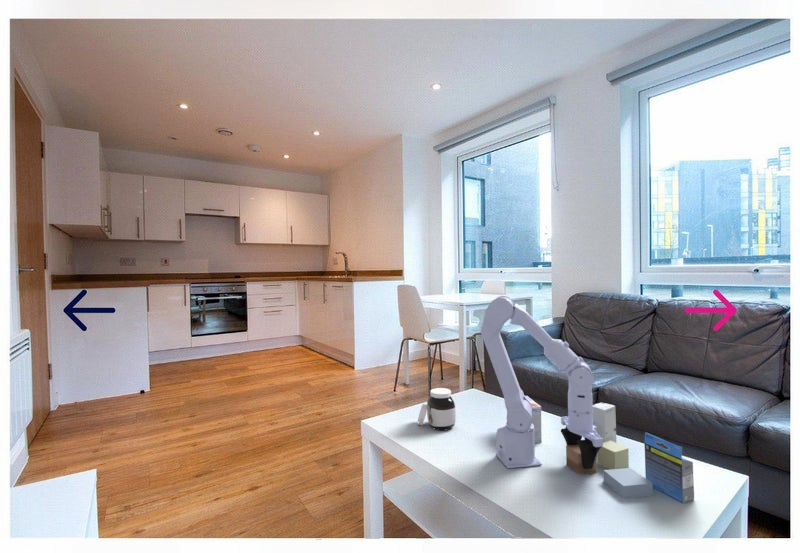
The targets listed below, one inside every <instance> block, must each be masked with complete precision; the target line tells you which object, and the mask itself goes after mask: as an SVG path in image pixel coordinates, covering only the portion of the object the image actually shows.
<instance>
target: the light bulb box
mask: <svg viewBox="0 0 800 553" xmlns="http://www.w3.org/2000/svg"><path fill="white" fill-rule="evenodd" d="M524 396H525V397H526V399H527V400H528V401H529V402H530V403H531V405H532V408H533V411H532V424H533V425H534V441H535V444H540V443H542V439H543V438H542V406H541V405H540V404H538V403H537V402H535V401H534V400H533V399H532V398H530V397H529V396H528V395H524Z"/></svg>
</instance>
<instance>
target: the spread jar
mask: <svg viewBox="0 0 800 553" xmlns="http://www.w3.org/2000/svg"><path fill="white" fill-rule="evenodd" d="M426 402H427V403H422V405H421V407H420V411H419V414H418V418H417V423H418V422H419V423H418V424H417V425H418V426H421V425H422V426H423V425H424V422H425V418H426V415H427V422H428V424H429V426H430V427H431V428H432V427H433V428H435V429H434V430H436V429H439V430H438V431H446V430H445V429H447V430H450V429H452V428H453V427H454V426H455V424H456V422H457V421H456V420H457V417H456V416H457V415H456V412H457V411H456V404H455V401H454V399H453V397H452V391H451V389H450V388H447V387H445V388H444V387H436V388H432V389H430V396H429V397H428V399H427V401H426ZM433 428H432V429H433Z"/></svg>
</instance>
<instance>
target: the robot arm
mask: <svg viewBox="0 0 800 553" xmlns="http://www.w3.org/2000/svg"><path fill="white" fill-rule="evenodd" d="M484 311H485V312H484V317H483V321H482V326H481V329H480V334H481V337H482V339H483V343H484V345H485V348H486V350H487V353H488V356H489V360H490V362H491V364H492V367H493V370H494V374H495V375H496V378H497V381H498V384H499V386H500V389H501V391H502V395H503V400H504V401H503V402H504V405H505V409H506V423H505V424H506V425H505V426H503V427H499V428H497V430H496V453H495V455H496V456H497V458H498V459H499V460H500V461H501V463H502V464H503V465H504V466H505V467H506V468H507V469H514V468H515V469H516V468H526V467H534V466H535V467H536V466H541V465H542V462H541V461H540V459H538V458H537V457H536V454H535V453H536V449H535V447H536V446H535V444H536V443H535V441H534V425H533V424H532V411H533V408H532V405H531V403H530V402H529V401H528V400H527V399H526V397H525V396H526V395H525V394H524V391H523V389H522V388H521V387H520V384H519V381H518V379H517V375H516V372H515V371H514V368H513V365H512V362H511V360H510V357H509V354H508V351H507V348H506V346H505V344H504V343H505V342H504V340H503V338H502V335H501V331H502V329H503V327H504V326H505V324H506V323H507V322H508V321H509V320H510V322H509V324H511V325H515V326H521V328H523V329H524V330H525V331H526V332H527V333H528V334H529V335H530V336H531V337H532V338H534V340H535V341H537V342H538V343H539V345H541V346H542V347H543V355H544V356H545V357H546V358H547V359H548V360H549V361H550V362H551V363H552V364H553V365H554V366H555V367H556V368H557V369H558V370H559V371H560V372H561V373H563V374H565V375H566V376H567V380H568V390H567V415H566V416H561V417H560V420H561V421H560V423H561V425H562V426H565V428H561V429H560V433H561V434H562V436H563V438H564V441H565V443H566V445H576V444H578V445H579V448H580V451H581V456H582V464H583V468H584V469H592V468H593V464H594V460H595V457H596V458H597V456H598V451H599V449H600V448H601V447H603V438H601V437H600V436H599V435H598V434H597V432H596V431H595V430H597V427H596V426H594V425H593V405H594V403H593V401H594V400H593V392H592V390H593V386H592V385H593V384H594V381H595V377H594V374H593V372H592V370H591V368H590V366H589V365H588V364H587V362H586V361H584V359H583V357H581V356H578V355H577V354H576V353H575V352H574V351H573V350H572V349H571V348H570V344H569V342H568V341H563V340H562V339H559V338H558V339H557V338H552V337H551V336H550V335H549V333H548V332H547V331H546V330H545V329H544V328H543V327H542V326H541V325H540V324H539V323H538V322H537V321H536V320H535V319H534V317H532V315H530V313H529V312H528V311H527V310H525V309H524V308H523V307H522V306H520V304H518V303H515V301H514V300H513V299H512V298H511V297H510V296H506V295H500V296H497V297H496V298H495V299H493V300H492V301H491V302H490V303H489V305H488V306H487V307H486V309H485V310H484ZM583 438H584V439H583Z"/></svg>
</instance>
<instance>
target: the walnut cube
mask: <svg viewBox="0 0 800 553" xmlns="http://www.w3.org/2000/svg"><path fill="white" fill-rule="evenodd" d="M565 448H566V449H565V450H566V451H565V452H566V453H565V454H566V455H565V457H566V458H565V461H566V466H568V467H569V468H570V469H571V470H573V472H575V473H576V474H577V475H583V474H584V475H585V474H594V473H597V456H596V457H595V460H594V464H593V468H592V469H584V468H583V464H582V456H581V451H580V448H579V445H578V444H576V445H567V444H566V446H565Z"/></svg>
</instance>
